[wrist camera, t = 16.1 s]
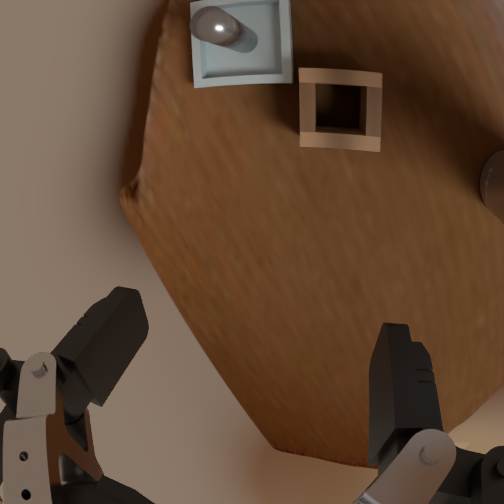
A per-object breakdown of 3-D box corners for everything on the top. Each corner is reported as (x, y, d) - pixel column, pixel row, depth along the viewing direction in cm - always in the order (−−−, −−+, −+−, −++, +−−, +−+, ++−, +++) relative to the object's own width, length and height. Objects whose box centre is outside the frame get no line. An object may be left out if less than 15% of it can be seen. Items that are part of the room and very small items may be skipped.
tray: (290, -3, 26) (287, -9, 24) (293, 83, 32) (291, 82, 30) (198, 6, 29) (190, 2, 26) (202, 87, 34) (194, 88, 32)
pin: (257, 27, 28) (227, 3, 18) (258, 52, 30) (229, 38, 20) (229, 29, 29) (188, 9, 19) (231, 54, 31) (190, 43, 21)
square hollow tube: (372, 75, 29) (382, 73, 24) (371, 141, 33) (379, 151, 28) (302, 71, 31) (298, 67, 26) (303, 137, 35) (300, 146, 30)
